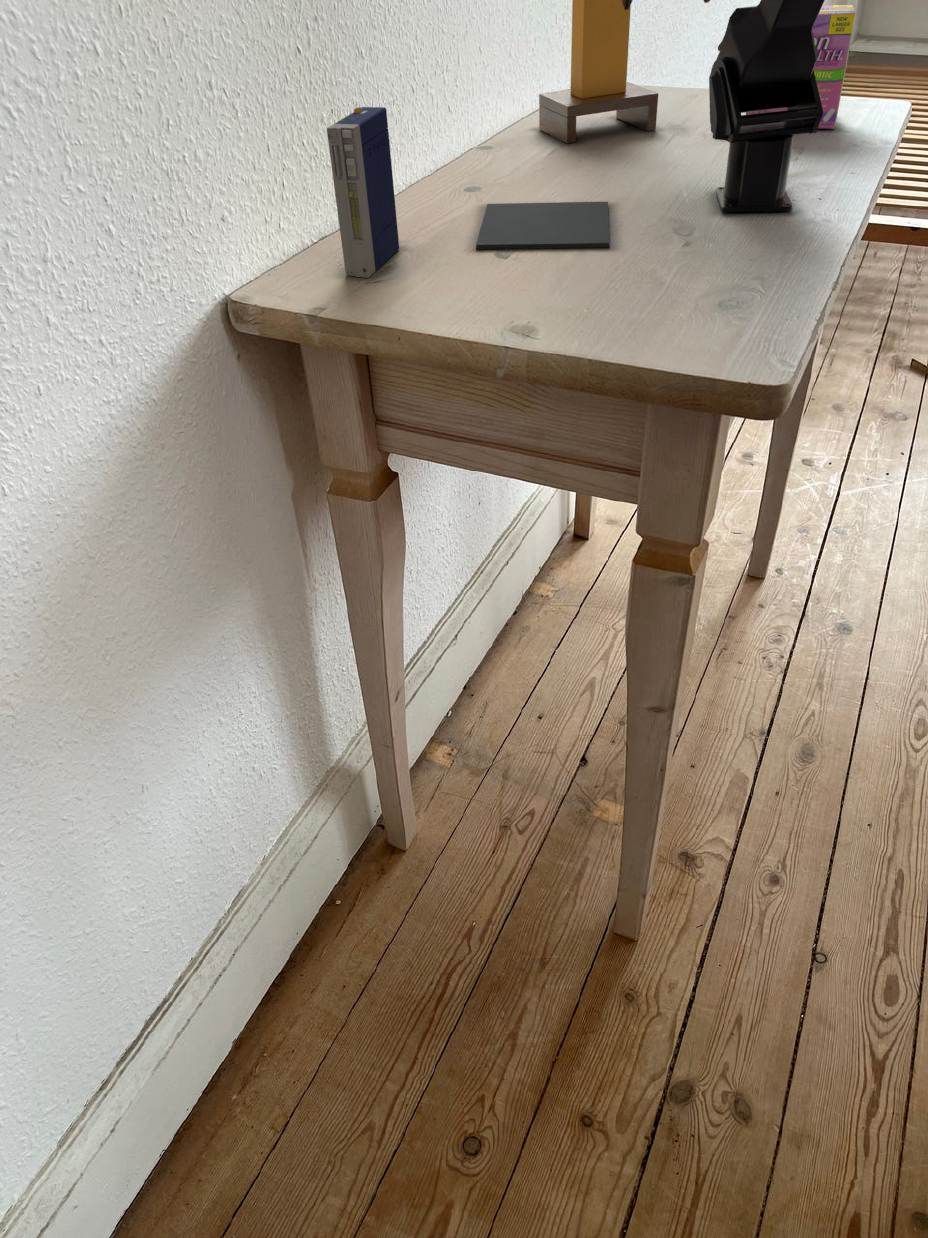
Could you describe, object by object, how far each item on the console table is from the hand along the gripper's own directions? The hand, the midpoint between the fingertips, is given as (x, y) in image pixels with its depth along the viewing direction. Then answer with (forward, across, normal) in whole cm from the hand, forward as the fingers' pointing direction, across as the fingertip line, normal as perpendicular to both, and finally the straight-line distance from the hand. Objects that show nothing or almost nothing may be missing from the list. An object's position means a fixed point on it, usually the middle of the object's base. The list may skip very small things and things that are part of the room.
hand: (665, 3), depth 102 cm
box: (+12, -17, +7) cm, 22 cm away
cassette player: (-3, +38, +32) cm, 50 cm away
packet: (+12, +5, -1) cm, 13 cm away
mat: (-1, +21, +29) cm, 36 cm away
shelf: (+15, +5, +1) cm, 16 cm away
